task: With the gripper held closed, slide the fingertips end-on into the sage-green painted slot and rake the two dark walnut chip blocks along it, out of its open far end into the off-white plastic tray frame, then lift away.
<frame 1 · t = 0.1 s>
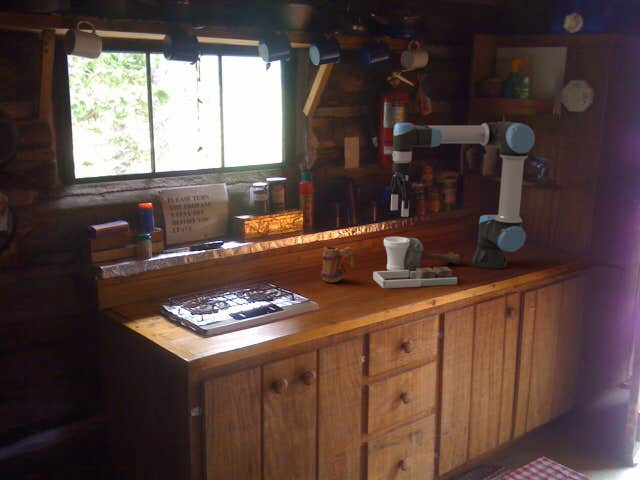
hand: (399, 213, 287), 28 cm above the counter, fingers open, 13 cm apart
cup: (395, 271, 304), on the counter, touching hammer
mug: (337, 282, 287), on the counter
slot rails: (433, 280, 291), on the counter
tray frame: (396, 282, 287), on the counter
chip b: (425, 281, 290), on the counter
hammer: (429, 268, 310), on the counter, touching cup
chip a: (441, 280, 292), on the counter
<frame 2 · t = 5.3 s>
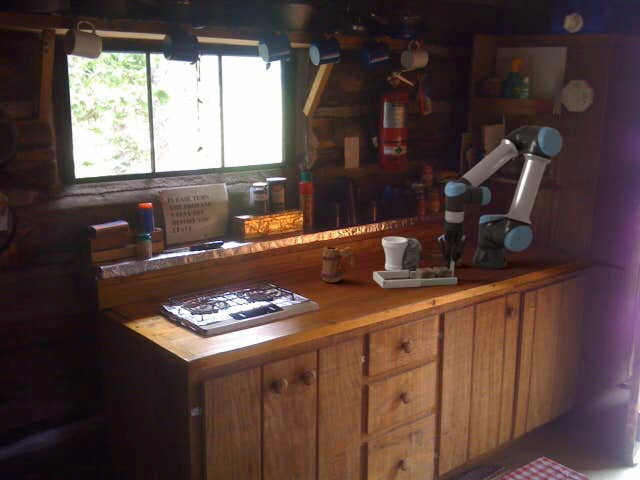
hand: (450, 275, 292), 2 cm above the counter, fingers closed
hammer: (429, 269, 309), on the counter, touching cup
chip a: (441, 280, 292), on the counter, touching gripper
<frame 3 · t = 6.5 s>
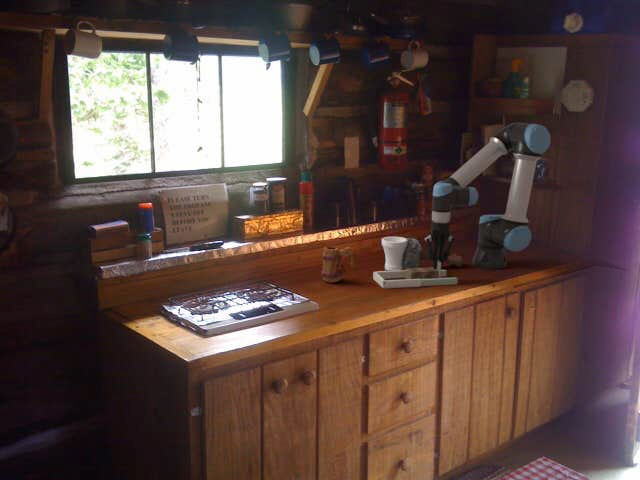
hand: (437, 276, 291), 2 cm above the counter, fingers closed
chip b: (415, 281, 289), on the counter
hammer: (429, 269, 308), on the counter, touching cup
chip a: (428, 280, 291), on the counter, touching gripper
everything else where it was.
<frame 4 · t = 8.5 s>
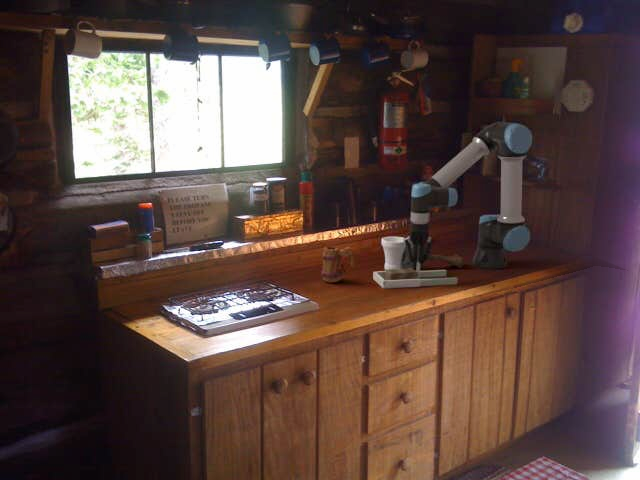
hand: (416, 277, 289), 2 cm above the counter, fingers closed
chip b: (394, 282, 287), on the counter, touching chip a
hammer: (430, 269, 308), on the counter, touching cup
chip a: (408, 281, 289), on the counter, touching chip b, gripper
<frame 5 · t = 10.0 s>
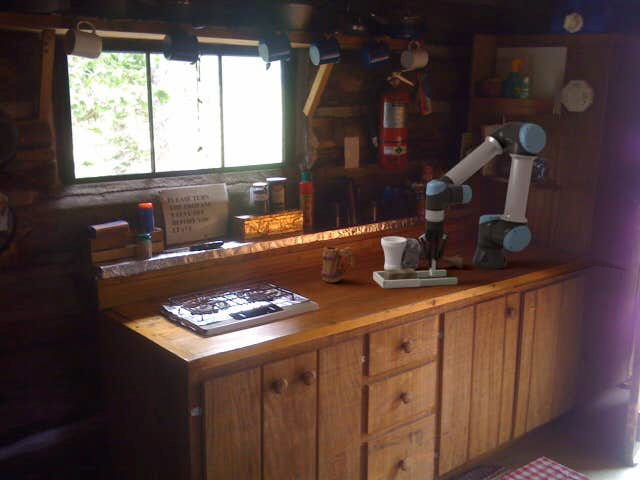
hand: (432, 274, 290), 2 cm above the counter, fingers closed
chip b: (393, 283, 287), on the counter
hammer: (430, 269, 308), on the counter, touching cup
chip a: (407, 282, 288), on the counter
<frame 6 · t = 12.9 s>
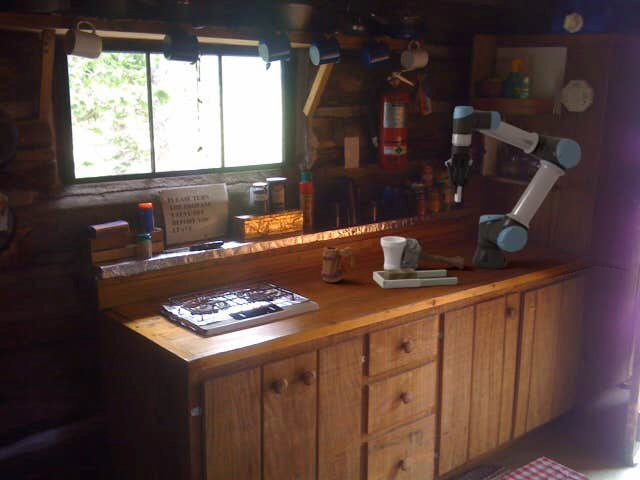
hand: (457, 201, 291), 32 cm above the counter, fingers closed
hammer: (430, 270, 307), on the counter, touching cup
at the end: chip a inside the target area (4.9 cm from its centre), on the counter; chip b inside the target area (1.3 cm from its centre), on the counter; chip a touching counter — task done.
